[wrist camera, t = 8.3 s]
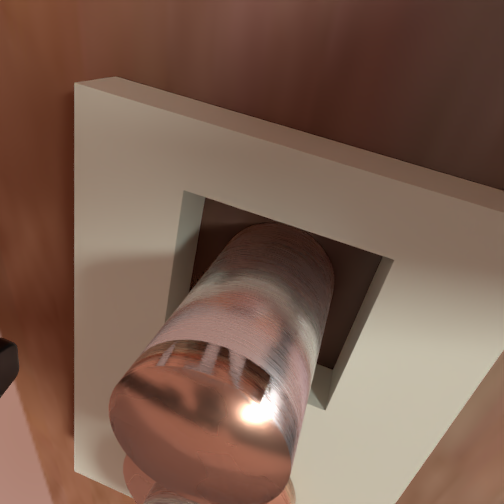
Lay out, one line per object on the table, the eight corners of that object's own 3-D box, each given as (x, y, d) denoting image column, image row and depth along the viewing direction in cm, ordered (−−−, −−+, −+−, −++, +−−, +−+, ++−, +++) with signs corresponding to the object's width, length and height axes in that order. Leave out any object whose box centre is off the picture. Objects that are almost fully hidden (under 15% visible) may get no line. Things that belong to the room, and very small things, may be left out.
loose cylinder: (351, 245, 13) (317, 417, 7) (314, 339, 15) (264, 533, 9) (233, 206, 14) (112, 336, 8) (213, 301, 16) (105, 462, 10)
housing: (554, 206, 11) (583, 236, 9) (339, 543, 20) (334, 590, 18) (115, 76, 13) (74, 82, 11) (99, 437, 22) (74, 471, 20)
